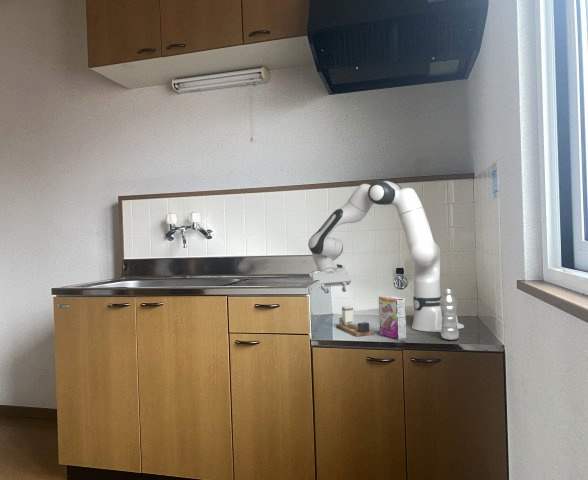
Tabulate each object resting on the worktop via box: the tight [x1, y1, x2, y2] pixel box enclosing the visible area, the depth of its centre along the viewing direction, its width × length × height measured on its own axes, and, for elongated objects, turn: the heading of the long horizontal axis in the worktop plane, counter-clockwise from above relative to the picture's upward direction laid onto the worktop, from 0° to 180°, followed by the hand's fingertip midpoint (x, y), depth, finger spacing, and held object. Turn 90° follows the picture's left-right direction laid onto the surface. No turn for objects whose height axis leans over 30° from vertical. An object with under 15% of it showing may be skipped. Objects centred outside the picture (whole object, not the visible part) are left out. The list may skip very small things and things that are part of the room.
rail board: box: [336, 317, 375, 338], centre depth 185 cm, size 8×20×4 cm, turn 19°
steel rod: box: [347, 321, 370, 333], centre depth 185 cm, size 4×20×4 cm, turn 19°
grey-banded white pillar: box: [341, 305, 354, 326], centre depth 191 cm, size 4×3×8 cm
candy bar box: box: [378, 295, 408, 341], centre depth 172 cm, size 11×5×16 cm, turn 30°
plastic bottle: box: [440, 287, 460, 341], centre depth 164 cm, size 6×7×20 cm
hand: (336, 291), depth 202 cm, fingers open, 8 cm apart
